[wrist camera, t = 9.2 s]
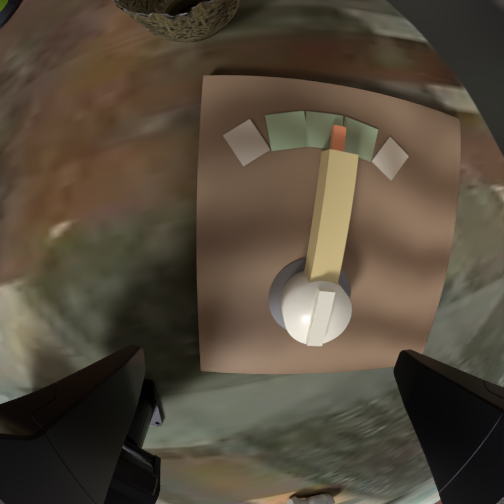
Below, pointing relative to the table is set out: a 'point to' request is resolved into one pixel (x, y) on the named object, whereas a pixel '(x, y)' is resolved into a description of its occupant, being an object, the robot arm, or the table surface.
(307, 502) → the pale two-lobed sculpture
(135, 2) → the cup
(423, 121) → the tuner board
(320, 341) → the tuner pointer lever
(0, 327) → the table surface
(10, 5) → the beverage can
